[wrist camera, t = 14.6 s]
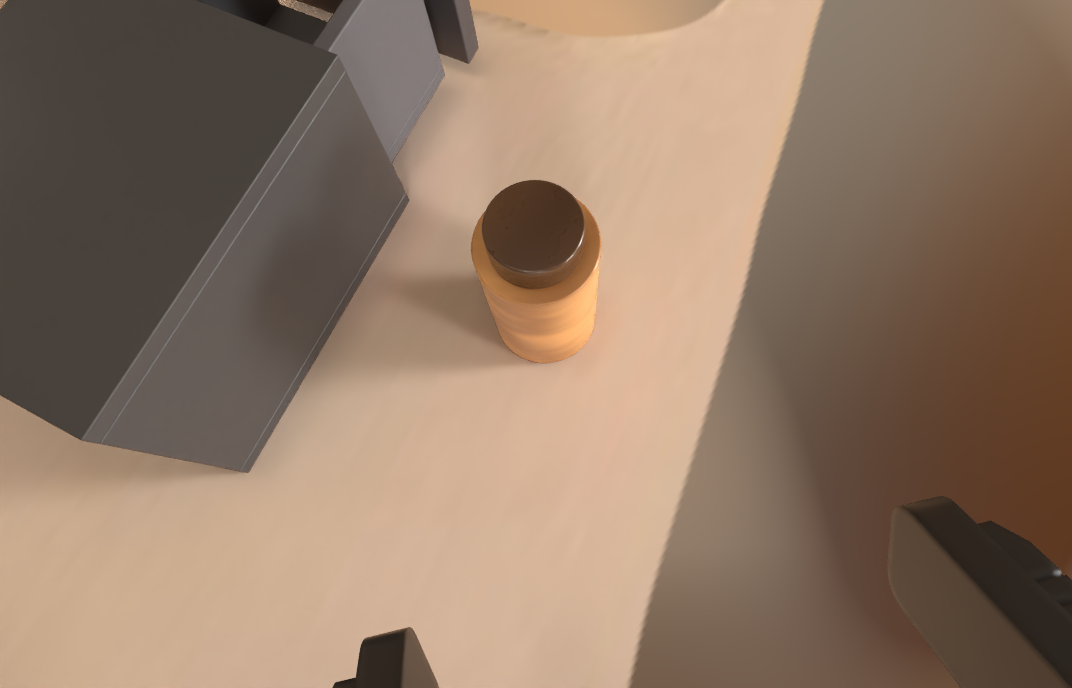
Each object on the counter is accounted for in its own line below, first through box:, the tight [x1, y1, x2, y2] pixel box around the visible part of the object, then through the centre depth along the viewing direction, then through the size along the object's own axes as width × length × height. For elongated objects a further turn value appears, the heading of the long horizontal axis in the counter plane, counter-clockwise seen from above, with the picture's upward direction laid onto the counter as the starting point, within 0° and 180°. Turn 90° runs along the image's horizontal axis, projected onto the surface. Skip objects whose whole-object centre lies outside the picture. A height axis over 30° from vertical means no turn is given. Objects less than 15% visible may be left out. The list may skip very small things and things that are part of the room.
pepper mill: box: [471, 180, 601, 363], centre depth 27 cm, size 5×5×10 cm
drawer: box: [196, 0, 478, 163], centre depth 31 cm, size 20×12×9 cm, turn 154°
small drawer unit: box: [0, 0, 409, 473], centre depth 28 cm, size 16×14×11 cm
